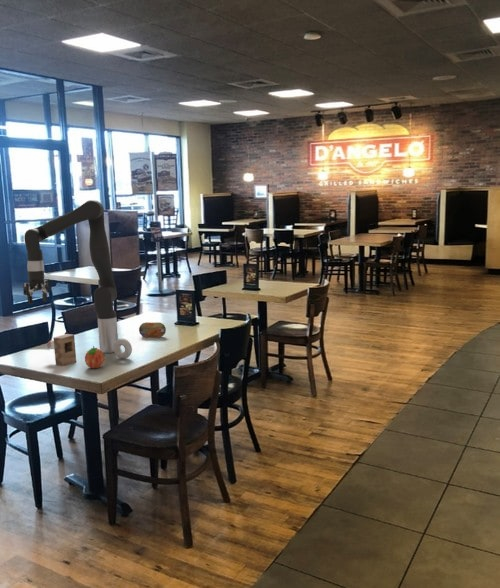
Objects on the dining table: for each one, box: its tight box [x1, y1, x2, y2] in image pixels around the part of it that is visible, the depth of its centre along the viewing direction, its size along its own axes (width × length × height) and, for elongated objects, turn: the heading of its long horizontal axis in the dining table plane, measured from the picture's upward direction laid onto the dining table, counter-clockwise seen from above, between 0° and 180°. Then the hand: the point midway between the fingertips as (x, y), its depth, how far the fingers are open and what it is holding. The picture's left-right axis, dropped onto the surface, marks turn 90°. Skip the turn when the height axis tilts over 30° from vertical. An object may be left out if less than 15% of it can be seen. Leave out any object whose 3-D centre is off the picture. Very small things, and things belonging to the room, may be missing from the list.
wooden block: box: [52, 333, 77, 367], centre depth 273 cm, size 5×8×13 cm, turn 150°
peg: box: [46, 340, 67, 350], centre depth 276 cm, size 9×4×4 cm, turn 60°
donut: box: [113, 337, 133, 360], centre depth 278 cm, size 10×4×10 cm, turn 66°
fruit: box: [84, 345, 105, 369], centre depth 264 cm, size 9×10×10 cm
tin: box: [138, 321, 167, 339], centre depth 321 cm, size 15×3×8 cm, turn 76°
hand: (37, 302), depth 289 cm, fingers open, 8 cm apart
